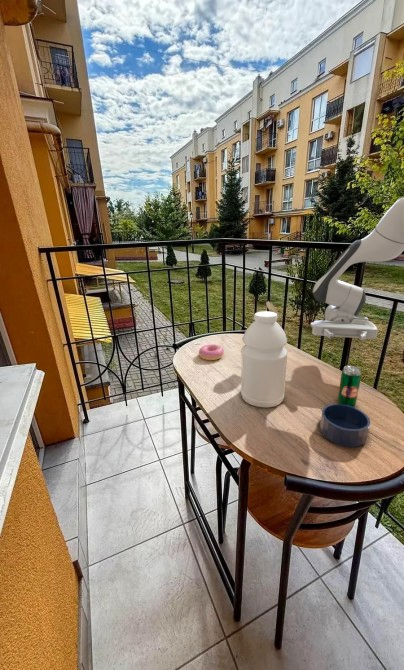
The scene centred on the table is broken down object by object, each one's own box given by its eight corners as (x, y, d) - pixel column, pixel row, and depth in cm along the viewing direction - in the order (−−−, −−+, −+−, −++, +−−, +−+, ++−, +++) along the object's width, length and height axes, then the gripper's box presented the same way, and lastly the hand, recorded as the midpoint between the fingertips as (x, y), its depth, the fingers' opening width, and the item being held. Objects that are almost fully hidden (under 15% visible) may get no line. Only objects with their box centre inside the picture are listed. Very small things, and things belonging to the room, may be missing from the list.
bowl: (355, 418, 79) (358, 403, 77) (375, 447, 69) (379, 431, 67) (314, 418, 80) (316, 403, 78) (328, 446, 70) (330, 430, 68)
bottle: (289, 391, 94) (295, 310, 84) (277, 413, 83) (283, 323, 73) (249, 381, 101) (251, 305, 91) (233, 401, 90) (233, 317, 80)
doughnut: (220, 362, 116) (220, 353, 114) (195, 360, 119) (194, 351, 118) (226, 352, 125) (226, 343, 124) (203, 350, 129) (202, 341, 127)
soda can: (339, 407, 84) (344, 372, 80) (335, 398, 89) (340, 364, 85) (357, 409, 83) (364, 373, 79) (353, 399, 88) (359, 365, 83)
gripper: (311, 314, 105) (313, 326, 93) (372, 317, 99) (383, 330, 87) (309, 330, 107) (311, 343, 95) (369, 334, 101) (379, 349, 89)
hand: (346, 337), depth 91 cm, fingers open, 8 cm apart
